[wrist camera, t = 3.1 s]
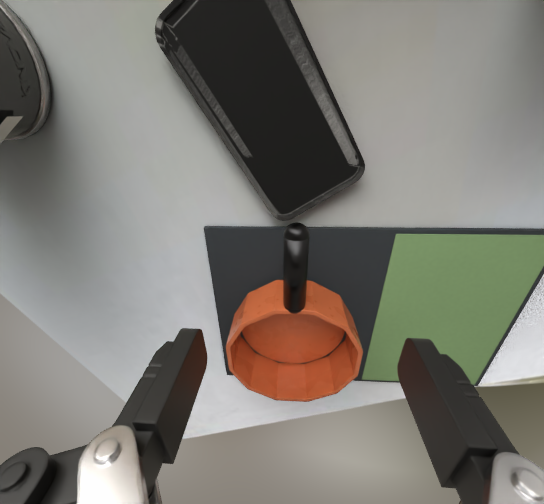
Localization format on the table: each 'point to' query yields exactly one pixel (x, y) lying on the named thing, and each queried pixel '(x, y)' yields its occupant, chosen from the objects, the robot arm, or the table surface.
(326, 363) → the saucepan
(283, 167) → the phone
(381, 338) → the mat
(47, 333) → the table surface
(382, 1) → the table surface
